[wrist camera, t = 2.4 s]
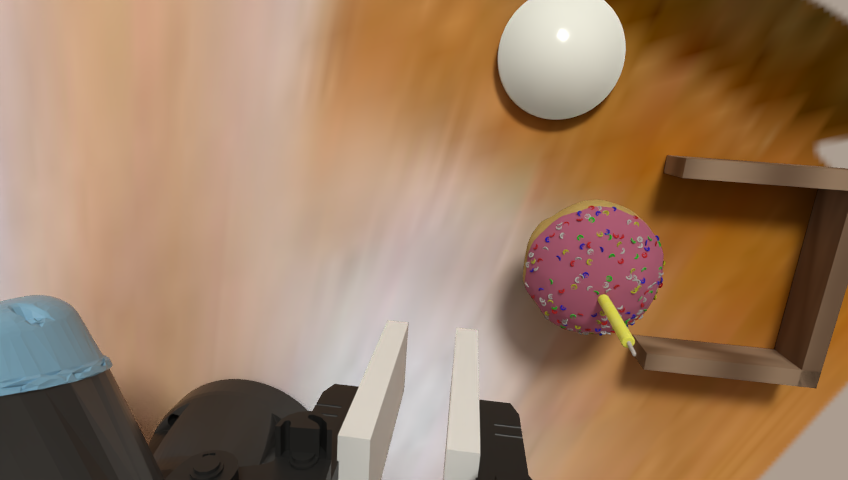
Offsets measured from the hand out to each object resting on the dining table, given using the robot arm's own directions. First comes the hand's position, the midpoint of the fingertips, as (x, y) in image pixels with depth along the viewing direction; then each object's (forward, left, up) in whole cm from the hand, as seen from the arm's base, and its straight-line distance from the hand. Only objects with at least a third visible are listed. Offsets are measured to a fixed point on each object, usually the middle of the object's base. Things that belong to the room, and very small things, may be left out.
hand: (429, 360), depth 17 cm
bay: (+19, 0, -18) cm, 26 cm away
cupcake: (+9, 0, -19) cm, 21 cm away
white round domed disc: (+6, +13, -18) cm, 23 cm away
